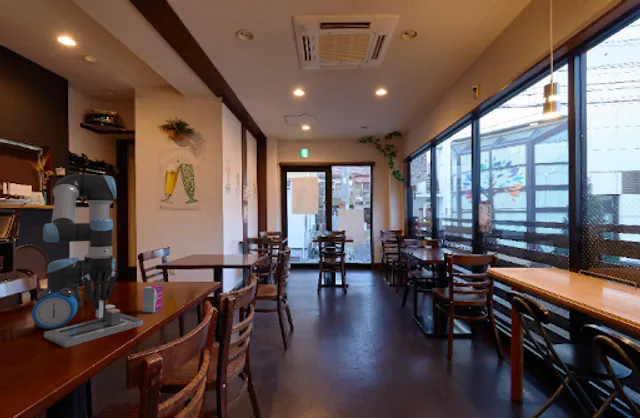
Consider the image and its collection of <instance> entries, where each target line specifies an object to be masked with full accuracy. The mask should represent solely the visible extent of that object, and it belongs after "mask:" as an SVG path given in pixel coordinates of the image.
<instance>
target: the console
mask: <svg viewBox="0 0 640 418" xmlns="http://www.w3.org/2000/svg"><path fill="white" fill-rule="evenodd" d="M143 323H144V320H143V319H141V318H138V317H135V316H132V315H129V314H128V315H127V314H124V313H122V312H120V323H119V324H115V325H112V326H111V325H108V324H106V320H104V319H102V317H101V318H96V319H93V320H88V321H84V322H83V321H82V322H80V323H76V324H72V325H68V326H65V327H63V326H62V327H58V328H54V329H50V330H48V331H44V333H43V336H44V337H43V338H45V339H46V340H48V341H51V342H53V343H54V344H57V345H59V346H61V347H62V348H65V349H66V348H68V347H72V346H76V345H79V344H82V343H85V342H89V341H93V340H97V339H99V338H103V337H106V336H110V335H114V334H118V333H121V332H124V331H127V330H131V329H134V328H138V327H141V326H143V325H144V324H143Z"/></svg>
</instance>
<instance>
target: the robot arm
mask: <svg viewBox="0 0 640 418" xmlns="http://www.w3.org/2000/svg"><path fill="white" fill-rule="evenodd" d="M52 195H53V197H54V201H53V202H54V203H53V209H52V216H51V222H50V223H45V224H44V225H43V230H42V236H43V237H42V238H43V241H44V242H46V243H56V244H57V243H70V242H71V243H72V242H73V243H74V242H87V244H88V245H87V246H88V247H87V248H88V249H87V250H88V251H87V253H86V255H84V256H83V259H80V258H79V257H69V258H68V257H67V258H61V259H57V260H54V261H50V262H49V263H48V265H47V271H46V273H47V277H46V278H47V279H46V280H47V281H46V289H50V290H52V291H53V292H52V293H54V292H59V291H60V290H61V289H63V288H70V289H72V290H73V291H74V295H73V297H74V298H75V299H76V301H77V304H78V308H77V309H79V308H81V307H83V299H82V297H81V294H80V290H79V285H83V286H84V288H85V293H86V296H87V297H86V298H87V300H88V301H92V302H93V310H95V318H96V319H100V318H102V317H103V308H105V307H106V305H107V300H108V299H109V298H111V297H112V294H113V291H114V287H115V284H116V280H117V278H118V276H119V272H115V268H116V258H114V257H113V236H114V235H113V233H114V222H113V221H114V220H113V219H112V218H110V206H111V204H112V203H114V199H117V198H118V197H117V196H118V195H117V187H116V181H115V178H114V177H113V176H110V175H106V174H105V175H104V174H88V173H87V174H85V173H72V174H68V175H66V176H64V177H62V178H61V179H59V180H58V181H57V182H56V183H55V185H54V186H53V188H52ZM78 198H83V199H84V198H85V201H84V202H85V203H87V204H88V222H84V223H83V222H80V223H79V222H75V221H76V205H77V199H78ZM92 284H93V287H92ZM54 290H58V291H54ZM50 294H51V293H50ZM48 295H49V294H48Z"/></svg>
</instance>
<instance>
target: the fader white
mask: <svg viewBox="0 0 640 418" xmlns="http://www.w3.org/2000/svg"><path fill="white" fill-rule="evenodd" d="M114 308H115V309H116V305H113V304H106V307H105V308H103V317H101V318H102V319H104V320H106V310H110V309H114Z"/></svg>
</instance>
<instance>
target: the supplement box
mask: <svg viewBox="0 0 640 418" xmlns="http://www.w3.org/2000/svg"><path fill="white" fill-rule="evenodd" d="M142 298H143V300H142V304H143V305H142V313H143V314H153V315H154V314H155V313H157V312H160V311H163V310H162V309H163V285H156V284H153V285H148V286H145V287H143V297H142Z"/></svg>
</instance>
